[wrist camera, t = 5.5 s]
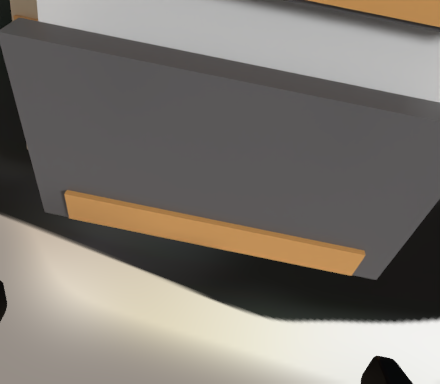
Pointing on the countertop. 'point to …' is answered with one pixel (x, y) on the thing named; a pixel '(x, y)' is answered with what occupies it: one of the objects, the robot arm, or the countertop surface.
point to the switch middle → (387, 10)
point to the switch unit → (265, 37)
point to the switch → (222, 149)
